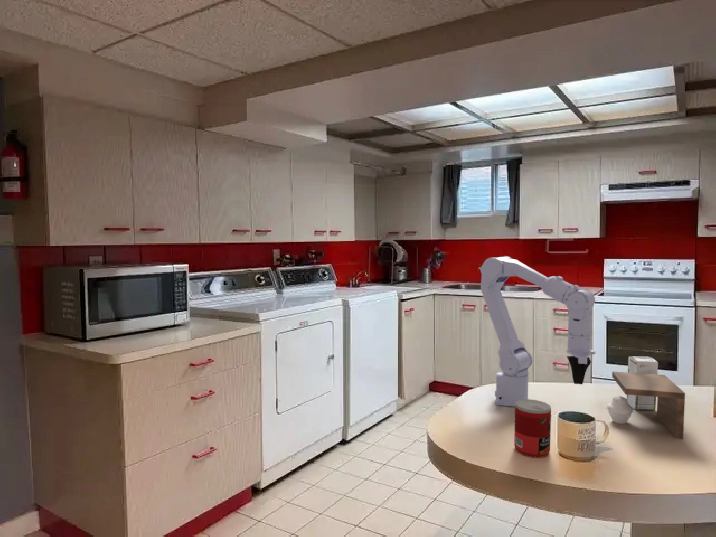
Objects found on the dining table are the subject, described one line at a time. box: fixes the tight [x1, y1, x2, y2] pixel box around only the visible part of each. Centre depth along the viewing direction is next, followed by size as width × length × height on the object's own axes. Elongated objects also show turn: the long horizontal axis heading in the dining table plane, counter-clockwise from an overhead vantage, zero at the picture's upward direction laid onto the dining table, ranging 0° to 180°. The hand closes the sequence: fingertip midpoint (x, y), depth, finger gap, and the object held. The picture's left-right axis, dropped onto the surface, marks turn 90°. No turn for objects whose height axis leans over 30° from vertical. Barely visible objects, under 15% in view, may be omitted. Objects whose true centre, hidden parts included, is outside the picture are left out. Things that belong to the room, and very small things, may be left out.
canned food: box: [513, 398, 552, 459], centre depth 114 cm, size 8×8×11 cm
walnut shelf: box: [611, 371, 686, 440], centre depth 130 cm, size 13×16×12 cm
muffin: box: [606, 395, 634, 425], centre depth 132 cm, size 6×6×7 cm
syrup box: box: [626, 355, 659, 411], centre depth 142 cm, size 6×6×14 cm
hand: (577, 383), depth 134 cm, fingers closed
